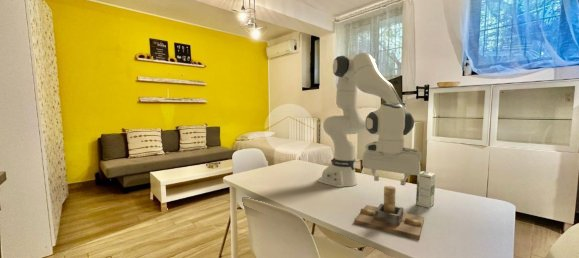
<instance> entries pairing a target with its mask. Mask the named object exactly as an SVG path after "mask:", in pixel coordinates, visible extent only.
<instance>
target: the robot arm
mask: <svg viewBox="0 0 579 258" xmlns="http://www.w3.org/2000/svg"><path fill="white" fill-rule="evenodd" d="M332 73H333V75H335V77H338V79H337V86H336V96H335V97H336V99H335V103H336V106H337V107H338V108H339V109H341V110H342V112H343V114H342V115H331V116H328V117H326V118H325V119H324V122H323V124H322V125H323V131H324V132H325V134H326V135H328V136H329V137H330V138H331V140H332V143H333V145H334V146H333V147H334V157H333V158H332V159H330V163H331V164H330V165H329V166H327V167H326V168H324V170H322V173H321V176H320V177H319V178H318V179H317V182H318V183H321V184H324V185H328V186H333V187H337V188H343V187H353V186H356V185H358V180H357V177H356V176H357V175H356V158H355V153H356V152H355V145H354V143H352V142H351V141H350V140H349V139H348V137H347V135H357V134H360V133H363V132H364V131H365V130H366V131H368V133H369V134H371V135H374V136H375V135H376V136H377V135H378V138H377V139H378V140H377V141H373V142H369V143H367V144H366V145H365V146H364V147H365V151H364V152H363V155H362V158H361V159H362V161H361V163H362V164H361V165H362V167H363V168H364V169H367V170H371V174H372V176H373V180H374V181H375V182H379V180H380V175H378V174H377V173H376V172H377V171H382V172H384V171H385V172H391V173H397V174H403V177H404V178H400V186H404V187H405V186H406V183H407V180H408V178H410V177H409V176H411V175H412V176H417V175H418V174H419V173H420V172H421V161H422V159H423V154H422V151H421V150H419V149H418V148H409V147H405V136H407V135H408V134H409V133H410V132H411V131H412V130H413V128H414V125H415V118H414V117H413V115H412V113H411V112H410V111H409V110H408V109H407V107H406V106H405V104H404V102H403V100H402V99H401V98H400V95H399V93H398V92H397V90H396V89H395V87H394V86H393V84H392V83H391V82H390V81H388V80H387V79H386V78H385V77H384V76H383V75H382V74H381V73H380V70H379V68H378V66H377V59H375V58H374V57H373V56H372V55H371V54H370V53H368V52H360V53H357V54H355V55H340V56H339V55H338V56H336V58H334V60H333V62H332ZM358 90H360V91H361V92H362V93H365V94H370V95H373V96H377V97H378V98H381V99H382V100H383V101H385V102H384V103H382V104H381V105H379V108H378V109H376V110H374V111H371V112H369V113H368V114H367V116H366V117H363V116H362V114H361V113H360V111H359V109H358Z"/></svg>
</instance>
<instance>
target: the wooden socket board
mask: <svg viewBox="0 0 579 258" xmlns="http://www.w3.org/2000/svg"><path fill="white" fill-rule="evenodd" d="M359 211H360V212H359V214H358V215H356V216H355V218H354V219H353V220H354V222H353V223H354V224H355V225H358V226H363V227H368V228H370V229H375V230H378V231H379V230H380V231H384V232H387V233H390V234H395V235H398V236H402V237H405V238H410V239H414V240H418V241H419V240H420V238H421V235H422V230H423V227H424V222H425V216H421V215H416V214H412V213H407V212H404V207H402V206H396V205H395V214H392V213H388V212H384V203H379V205H378V206H372V205H369V204H368V205H367V204H366V205H365V206H364V208H361V209H360V210H359Z"/></svg>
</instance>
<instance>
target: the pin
mask: <svg viewBox="0 0 579 258" xmlns="http://www.w3.org/2000/svg"><path fill="white" fill-rule="evenodd" d="M396 189H397V188H396V187H395V186H391V185H385V186H384V187H383V204H384V212H388V213H392V214H395V206H396Z"/></svg>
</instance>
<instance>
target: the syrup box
mask: <svg viewBox="0 0 579 258" xmlns="http://www.w3.org/2000/svg"><path fill="white" fill-rule="evenodd" d="M416 176H417V178H416V179H417V180H416V196H415V197H416V198H415V205H416V206H419V207H423V208H428V209H431V208H432V207H433V206H434V204H435V189H436V173H433V172H430V171H426V170H425V171H424V170H422V171H420V173H419V174H418V175H416Z"/></svg>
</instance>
